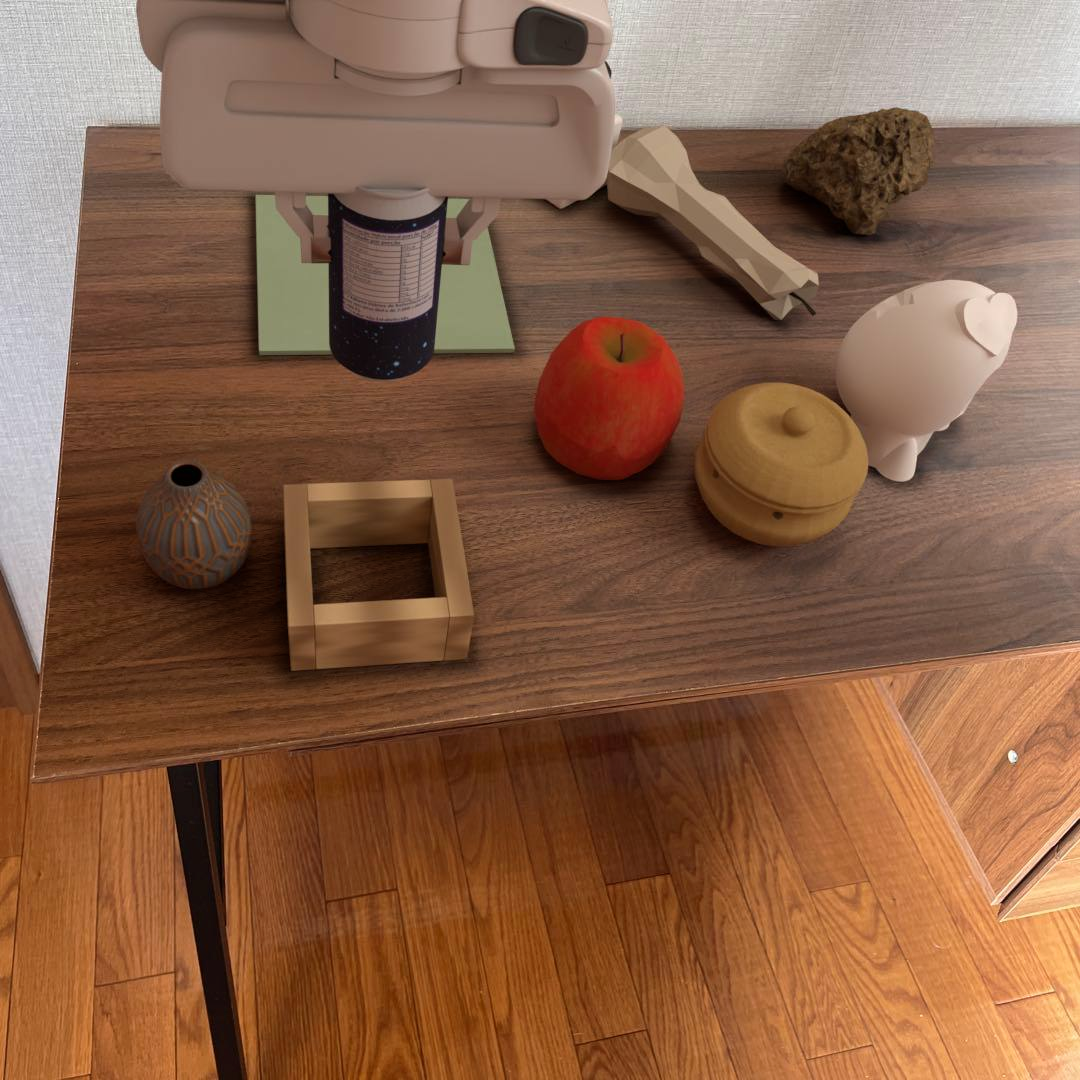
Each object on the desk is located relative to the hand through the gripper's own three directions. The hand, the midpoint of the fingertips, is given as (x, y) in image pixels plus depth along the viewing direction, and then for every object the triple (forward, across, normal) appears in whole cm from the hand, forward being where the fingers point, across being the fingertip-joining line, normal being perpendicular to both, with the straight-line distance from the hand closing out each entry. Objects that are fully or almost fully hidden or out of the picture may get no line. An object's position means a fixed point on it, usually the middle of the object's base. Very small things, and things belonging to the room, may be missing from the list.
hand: (386, 257), depth 56 cm
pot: (+25, +29, +3) cm, 38 cm away
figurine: (+25, +42, +11) cm, 50 cm away
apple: (+25, +18, +10) cm, 32 cm away
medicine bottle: (+25, +20, +44) cm, 54 cm away
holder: (+25, 0, -3) cm, 25 cm away
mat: (+25, +3, +30) cm, 39 cm away
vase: (+25, -11, 0) cm, 27 cm away
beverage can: (+7, 0, 0) cm, 7 cm away
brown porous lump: (+25, +50, +40) cm, 68 cm away
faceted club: (+25, +32, +32) cm, 51 cm away
